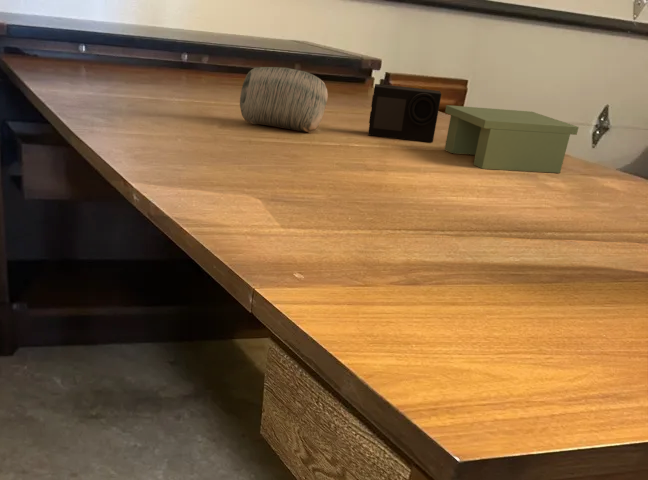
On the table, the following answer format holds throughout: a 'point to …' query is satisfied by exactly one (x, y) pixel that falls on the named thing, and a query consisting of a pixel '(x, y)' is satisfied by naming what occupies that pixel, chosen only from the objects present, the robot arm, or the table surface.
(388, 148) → the table surface
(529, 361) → the table surface
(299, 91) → the grey yarn skein
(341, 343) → the table surface
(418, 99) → the digital camera
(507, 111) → the stand
